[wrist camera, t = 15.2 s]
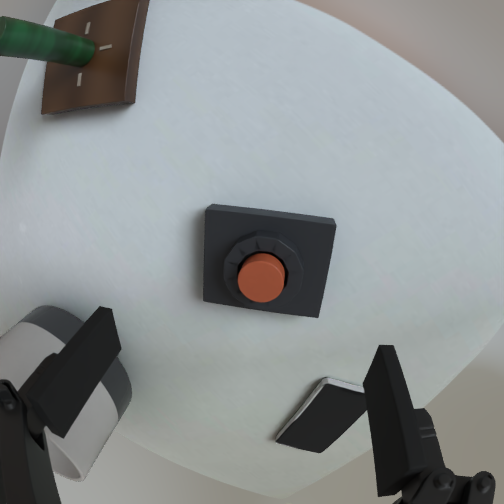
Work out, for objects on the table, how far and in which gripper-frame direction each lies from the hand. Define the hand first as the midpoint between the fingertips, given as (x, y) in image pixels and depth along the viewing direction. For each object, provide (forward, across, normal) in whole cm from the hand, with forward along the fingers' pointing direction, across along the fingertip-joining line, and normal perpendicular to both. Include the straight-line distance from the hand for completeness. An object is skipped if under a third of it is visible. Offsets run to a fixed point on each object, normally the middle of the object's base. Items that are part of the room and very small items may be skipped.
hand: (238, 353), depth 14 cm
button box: (+15, 0, -2) cm, 15 cm away
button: (+12, 0, -2) cm, 12 cm away
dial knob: (+15, -20, +18) cm, 31 cm away
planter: (+15, -25, -21) cm, 36 cm away
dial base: (+17, -20, +18) cm, 32 cm away
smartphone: (+14, +10, -24) cm, 30 cm away
